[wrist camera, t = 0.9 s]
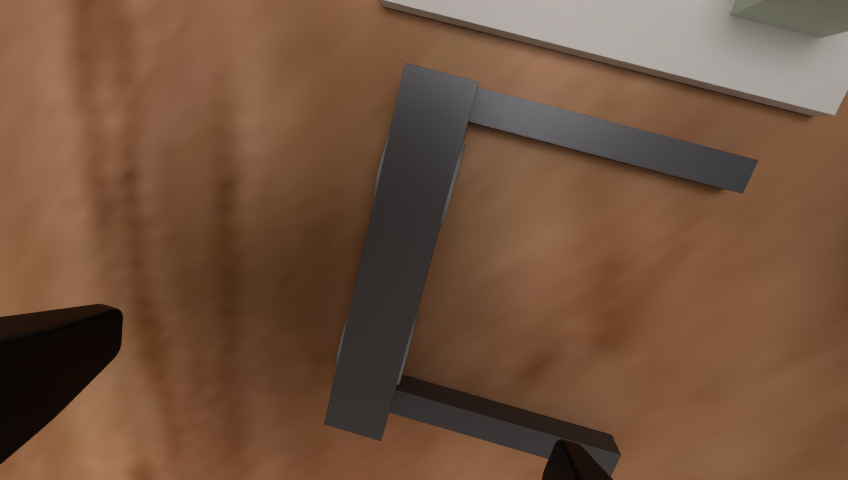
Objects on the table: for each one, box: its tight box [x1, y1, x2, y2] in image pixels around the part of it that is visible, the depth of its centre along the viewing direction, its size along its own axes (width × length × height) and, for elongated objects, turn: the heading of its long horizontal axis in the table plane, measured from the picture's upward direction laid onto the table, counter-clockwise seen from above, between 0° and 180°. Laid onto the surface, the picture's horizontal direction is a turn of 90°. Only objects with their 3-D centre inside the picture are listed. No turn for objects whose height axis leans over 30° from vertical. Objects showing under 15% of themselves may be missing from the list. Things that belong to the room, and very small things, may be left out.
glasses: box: [324, 63, 758, 477], centre depth 17 cm, size 12×14×3 cm
